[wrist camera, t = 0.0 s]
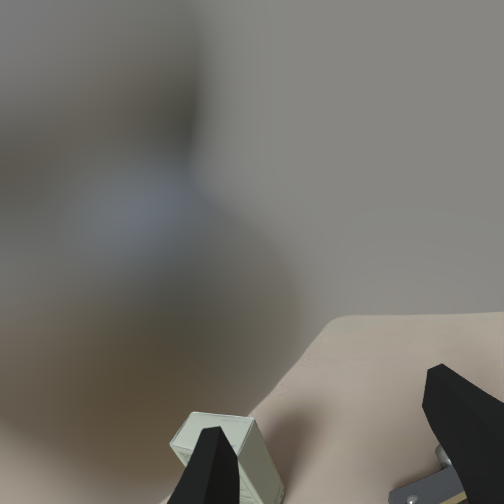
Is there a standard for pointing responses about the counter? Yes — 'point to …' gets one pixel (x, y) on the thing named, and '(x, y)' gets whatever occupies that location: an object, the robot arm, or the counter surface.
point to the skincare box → (247, 450)
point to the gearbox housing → (433, 487)
